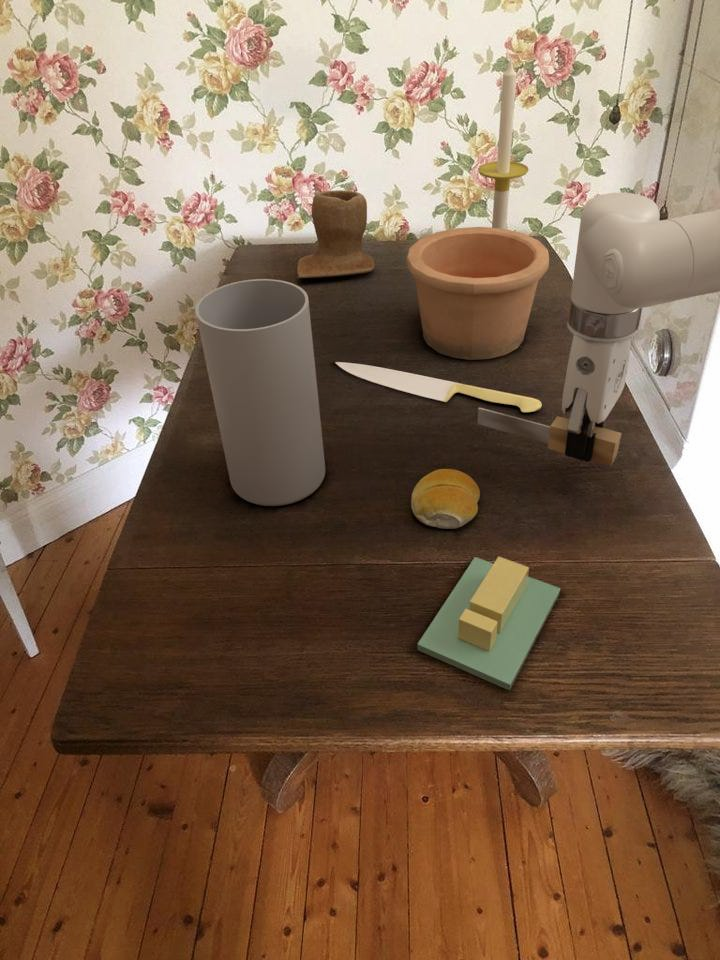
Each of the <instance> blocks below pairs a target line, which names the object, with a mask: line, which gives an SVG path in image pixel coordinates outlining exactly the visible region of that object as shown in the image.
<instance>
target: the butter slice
mask: <svg viewBox="0 0 720 960" xmlns="http://www.w3.org/2000/svg"><path fill="white" fill-rule="evenodd" d="M497 624H498V622H497V621H495V620H493V619H490V618H488V617H485V616H483V615H480V614H478V613H475V612H473V611H470V610H468V609H465V610H464V612H463V613H462V615H461V617H460V618H459V628H458V638H459V639H461V640H464V641H466V642H468V643H471V644H473V645H475V646H478V647H480V648H482V649H485V650H487V651H490V650H491V648H492V646H493V645H494V643H495V641H496V634H497Z"/></svg>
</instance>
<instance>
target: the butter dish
mask: <svg viewBox="0 0 720 960" xmlns="http://www.w3.org/2000/svg"><path fill="white" fill-rule="evenodd" d="M529 571H530V567H529V566H526V565H524V564H521V563H518V562H515V561H512V560H510V559H507V558H504V557H503V556H502V557H501V556H500V555H499V556H497V558H496V559H495V561H494V562H489V561H488V560H484V559H482V558H480V557H477V556H474V557H473V559H472V561H471V562H470V563H469V565H468V566H467V568H466V570H465V571H464V572H463V574H462V576H461V577H460V579H459V580H458V582H457V583H456V585H455V586H454V587H453V589H452V591H451V593H450V594H449V595H448V597H447V598H446V600H445V602H444V603H443V605H442V606H441V607H440V609H439V610H438V611H437V613H436V615H435V617H434V618H433V620H432V621H431V622H430V624H429V625H428V627H427V629H426V630H425V631H424V633H423V634H422V636H421V638H420V639H419V640H418V642H417V645H416V647H417V651H418V652H421V653H423V654H425V655H427V656H430V657H432V658H434V659H437V660H439V661H441V662H443V663H446V664H448V665H450V666H453V667H455V668H457V669H459V670H462V671H464V672H466V673H467V674H468V673H469V674H471V675H473V676H475V677H476V678H477V677H478V678H479V679H482V680H484V681H487V682H489V683H491V684H492V685H493V684H494V685H495V686H498V687H499V688H502V689H505V690H507V691H510V690H511V689H512V687H513V686H514V683H515V681H516V679H517V678H518V676H519V674H520V671H521V670H522V667H523V666H524V664H525V662H526V660H527V658H528V657H529V654H530V652H531V650H532V648H533V646H534V645H535V643H536V641H537V639H538V637H539V635H540V633H541V631H542V629H543V627H544V625H545V623H546V621H547V619H548V617H549V616H550V614H551V612H552V610H553V609H554V606H555V604H556V602H557V601H558V598H559V596H560V594H561V588H560V587H558V586H555V585H553V584H550V583H547V582H545V581H542V580H539V579H536V578H533V577H532V576H531V577H530V576H529ZM465 609H468V610H470V611H473V612H475V613H478V614H480V615H483V616H485V617H488V618H490V619H493V620H495V621H497V622H498V624H497V634H496V641H495V643H494V645H493V646H492V648H491V650H490V651H487V650H485V649H482V648H480V647H478V646H475V645H473V644H471V643H468V642H466V641H464V640H461V639H459V638H458V628H459V618H460V617H461V615H462V613H463V612H464V610H465Z"/></svg>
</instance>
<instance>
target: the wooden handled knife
mask: <svg viewBox="0 0 720 960" xmlns="http://www.w3.org/2000/svg"><path fill="white" fill-rule="evenodd" d="M569 420H570V418H566V417H562V416H556V417H555V418H554V419H553V421H552V423H551V424H550V425H548V424H543V423H541V422H540V423H539V422H535V421H532V420H528V419H525V418H520V417H517V416H513V415H510V414H506V413H502V412H498V411H495V410H491V409H488V408H483V407H480V406H479V407H478V408H477V423H476V424H477V425H479V426H483V427H486V428H490V429H494V430H497V431H501V432H504V433H508V434H511V435H515V436H519V437H522V438H526V439H530V440H533V441H537V442H541V443H543V444H544V443H545V444H547V449H548V450H551V451H554V452H558V453H561V454H565V448H566V441H567V434H568V432H567V427H568V423H569ZM593 433H596V437H595V442H594V448H593V454H592V459H591V460H590V461H589V462H594V463H597V464H601V465H605V466H608V467H612V466H613V464H614V462H615V460H616V459H617V457H618V452H619V447H620V443H621V437H622V432H620V431H616V430H612V429H608V428H605V427H603V428H600V427H597V426H595V427H594V432H593Z"/></svg>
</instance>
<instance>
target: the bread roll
mask: <svg viewBox="0 0 720 960" xmlns="http://www.w3.org/2000/svg"><path fill="white" fill-rule="evenodd" d="M480 496H481V491H480V488H479V485H478V484H477V483H476V481H475V480H474V479H473V478H472V477H471V476H470V475H469V474H467V473H465V472H463V471H460V470H457V469H454V468H440V469H436V470H433V471H432V472H430V473H428V474H426V475H425V476H423V477H422V478H421V479H419V481H418V482H417V483H416V485H415V486H414V488H413V490H412V493H411V498H410V506H411V507H410V508H411V511H412V513H413V515H414V517H415V518H416V519H417V520H418V521H419V522H420V523H422V524H424V525H425V526H428V527H433V528H437V529H444V530H445V529H447V530H449V529H450V530H455V529H458V528H461V527H463V526H464V525H467V524H468V523H469V522H470V521H472V520H473V519H474V518H475V517H476V516H477V514H478V510H479V504H478V502H479V500H480V498H481V497H480Z"/></svg>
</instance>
